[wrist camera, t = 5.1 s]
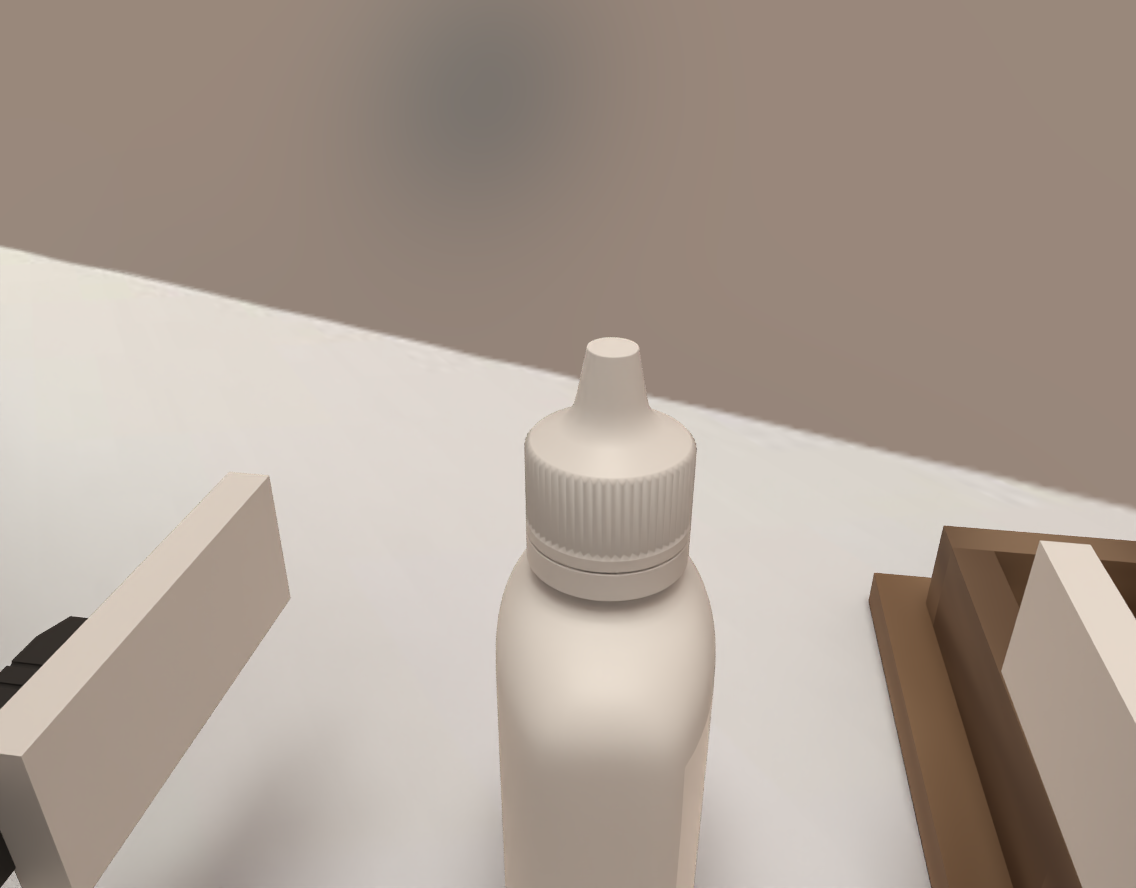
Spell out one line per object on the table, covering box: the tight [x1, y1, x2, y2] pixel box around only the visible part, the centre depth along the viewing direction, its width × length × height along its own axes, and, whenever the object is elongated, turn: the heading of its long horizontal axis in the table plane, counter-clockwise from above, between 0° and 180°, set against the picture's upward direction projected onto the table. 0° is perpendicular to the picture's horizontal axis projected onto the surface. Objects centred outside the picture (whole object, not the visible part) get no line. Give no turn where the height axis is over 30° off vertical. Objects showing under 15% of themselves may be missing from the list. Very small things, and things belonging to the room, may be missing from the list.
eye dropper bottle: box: [496, 337, 715, 888], centre depth 15 cm, size 4×6×12 cm
